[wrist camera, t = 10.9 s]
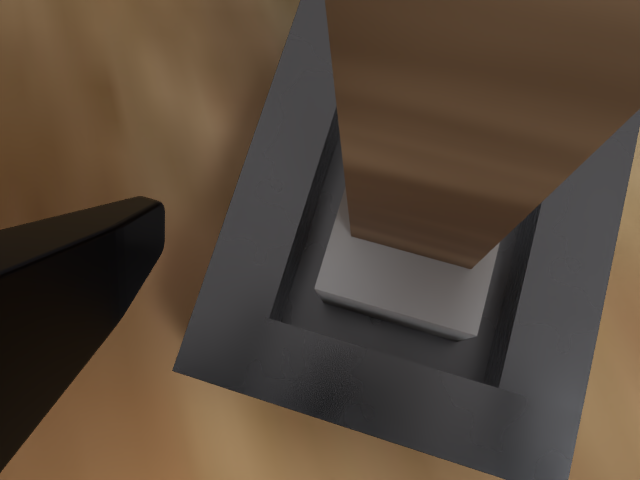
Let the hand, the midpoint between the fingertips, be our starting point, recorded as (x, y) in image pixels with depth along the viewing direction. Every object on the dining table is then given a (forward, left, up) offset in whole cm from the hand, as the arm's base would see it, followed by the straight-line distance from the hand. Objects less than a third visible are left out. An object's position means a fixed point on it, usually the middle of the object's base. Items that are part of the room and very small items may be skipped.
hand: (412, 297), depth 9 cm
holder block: (+1, +3, -8) cm, 9 cm away
